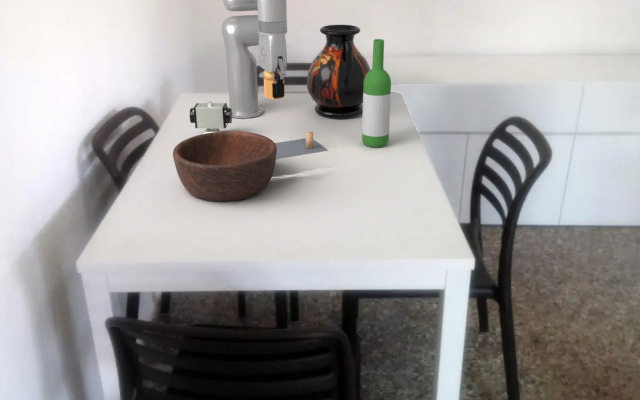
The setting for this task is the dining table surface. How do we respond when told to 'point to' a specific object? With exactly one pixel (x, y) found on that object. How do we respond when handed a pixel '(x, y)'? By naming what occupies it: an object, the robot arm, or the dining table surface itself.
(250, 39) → the robot arm
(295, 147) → the board
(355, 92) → the black vase
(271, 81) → the orange dome-topped faceted piece
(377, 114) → the wine bottle
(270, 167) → the wooden bowl
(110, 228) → the dining table surface
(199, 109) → the pneumatic valve
